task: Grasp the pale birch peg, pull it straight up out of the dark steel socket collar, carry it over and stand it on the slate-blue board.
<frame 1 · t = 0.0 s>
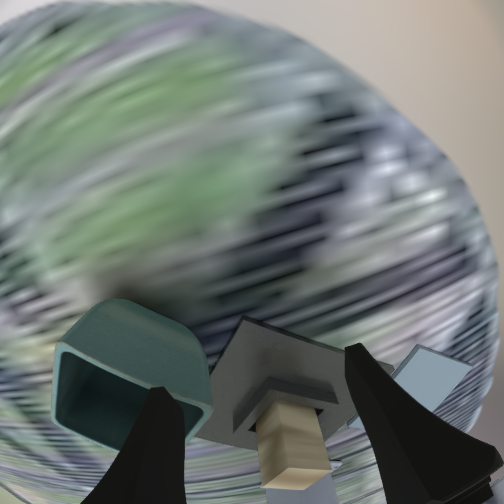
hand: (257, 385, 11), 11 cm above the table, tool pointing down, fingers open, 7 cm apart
flower pot: (148, 332, 22), on the table
socket base: (282, 404, 26), on the table
board: (414, 394, 28), on the table
peg: (283, 409, 25), point 1 cm above the table, touching socket base
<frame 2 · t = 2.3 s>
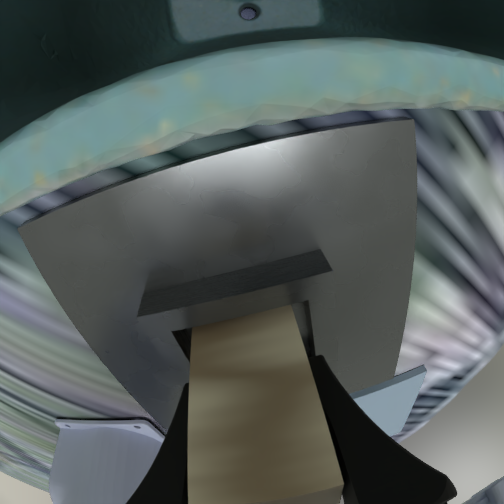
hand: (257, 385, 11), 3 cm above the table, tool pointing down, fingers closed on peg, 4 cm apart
socket base: (248, 325, 14), on the table
board: (347, 425, 21), on the table
peg: (250, 335, 13), point 1 cm above the table, touching gripper, socket base
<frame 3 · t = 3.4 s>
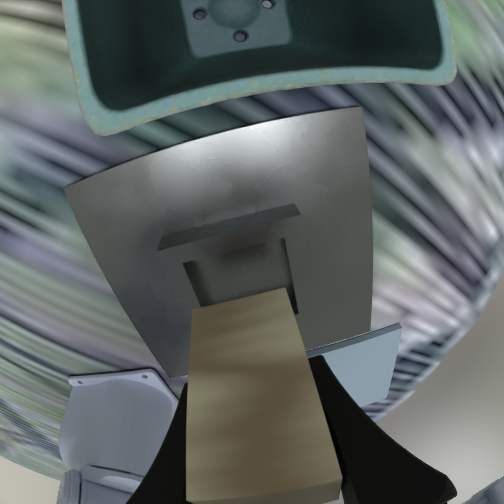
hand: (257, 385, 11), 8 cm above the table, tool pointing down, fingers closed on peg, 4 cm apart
flower pot: (235, 11, 11), on the table
socket base: (242, 269, 18), on the table
board: (333, 383, 25), on the table
peg: (249, 331, 13), point 5 cm above the table, touching gripper
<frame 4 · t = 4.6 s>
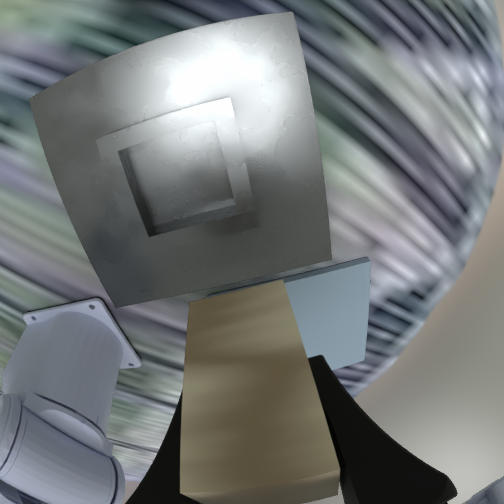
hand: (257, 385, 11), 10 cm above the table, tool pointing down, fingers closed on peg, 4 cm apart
socket base: (182, 171, 17), on the table
board: (298, 332, 24), on the table
peg: (246, 324, 13), point 7 cm above the table, touching gripper
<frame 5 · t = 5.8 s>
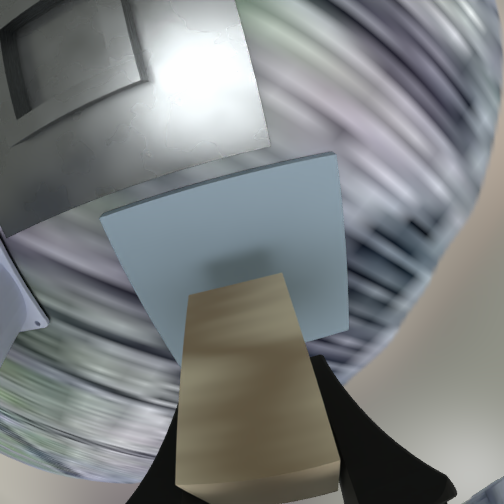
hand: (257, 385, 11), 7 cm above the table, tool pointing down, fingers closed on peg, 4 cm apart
socket base: (67, 47, 10), on the table
board: (241, 278, 17), on the table
peg: (246, 318, 13), point 4 cm above the table, touching gripper
when the fingers open (5 cm above the table, at t = 7.0 s): peg drops 1 cm, resting on board.
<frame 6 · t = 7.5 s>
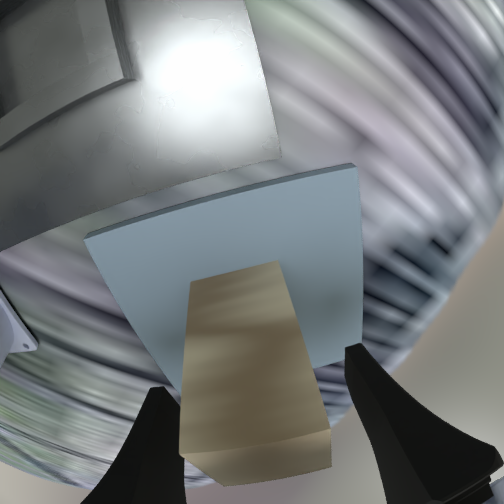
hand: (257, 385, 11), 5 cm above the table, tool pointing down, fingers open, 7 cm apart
socket base: (45, 43, 8), on the table
board: (246, 305, 15), on the table
peg: (244, 304, 14), point 1 cm above the table, touching board
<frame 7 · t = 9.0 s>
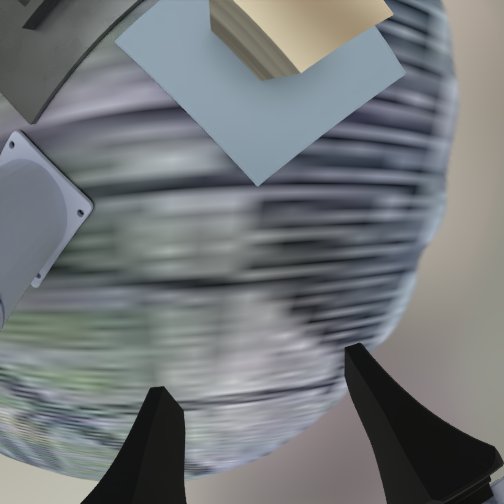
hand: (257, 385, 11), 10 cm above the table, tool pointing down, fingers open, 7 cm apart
board: (269, 43, 13), on the table
peg: (264, 33, 13), point 1 cm above the table, touching board
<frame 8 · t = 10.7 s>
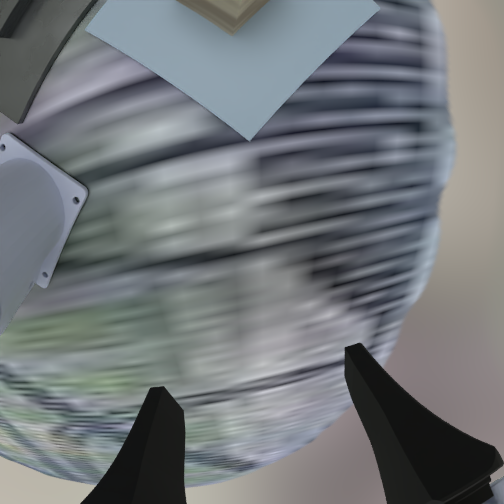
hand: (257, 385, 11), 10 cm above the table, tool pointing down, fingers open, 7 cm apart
board: (235, 1, 12), on the table
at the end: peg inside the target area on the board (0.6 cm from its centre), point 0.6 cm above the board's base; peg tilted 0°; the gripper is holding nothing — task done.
